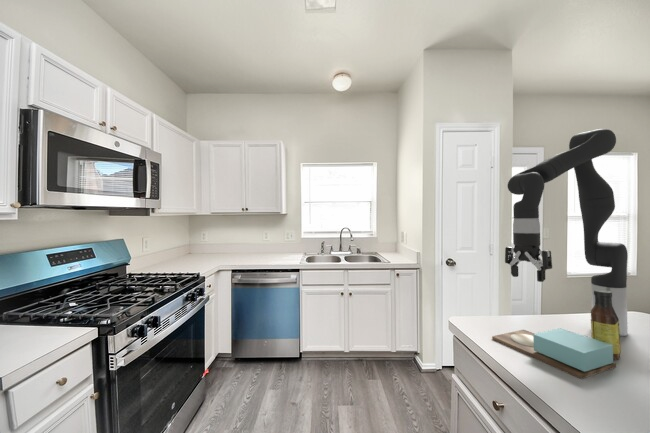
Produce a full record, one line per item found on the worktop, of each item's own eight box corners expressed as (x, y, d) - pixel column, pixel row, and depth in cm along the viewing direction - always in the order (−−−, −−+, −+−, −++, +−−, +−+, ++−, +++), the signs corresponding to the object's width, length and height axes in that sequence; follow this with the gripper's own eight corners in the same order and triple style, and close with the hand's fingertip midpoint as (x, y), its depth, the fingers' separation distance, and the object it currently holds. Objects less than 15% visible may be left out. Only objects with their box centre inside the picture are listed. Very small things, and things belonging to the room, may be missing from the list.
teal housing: (560, 343, 90) (560, 328, 90) (613, 362, 78) (612, 345, 78) (533, 350, 86) (533, 334, 86) (584, 371, 74) (584, 353, 74)
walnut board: (523, 332, 103) (523, 328, 103) (615, 367, 79) (615, 362, 79) (492, 339, 98) (492, 335, 98) (580, 378, 73) (580, 373, 73)
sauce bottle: (627, 361, 81) (625, 294, 82) (602, 359, 83) (600, 293, 83) (609, 351, 88) (607, 289, 88) (586, 349, 89) (584, 288, 89)
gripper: (556, 232, 89) (558, 282, 88) (514, 230, 102) (515, 274, 102) (540, 232, 86) (541, 284, 86) (499, 231, 100) (500, 275, 100)
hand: (527, 278), depth 94 cm, fingers open, 8 cm apart
